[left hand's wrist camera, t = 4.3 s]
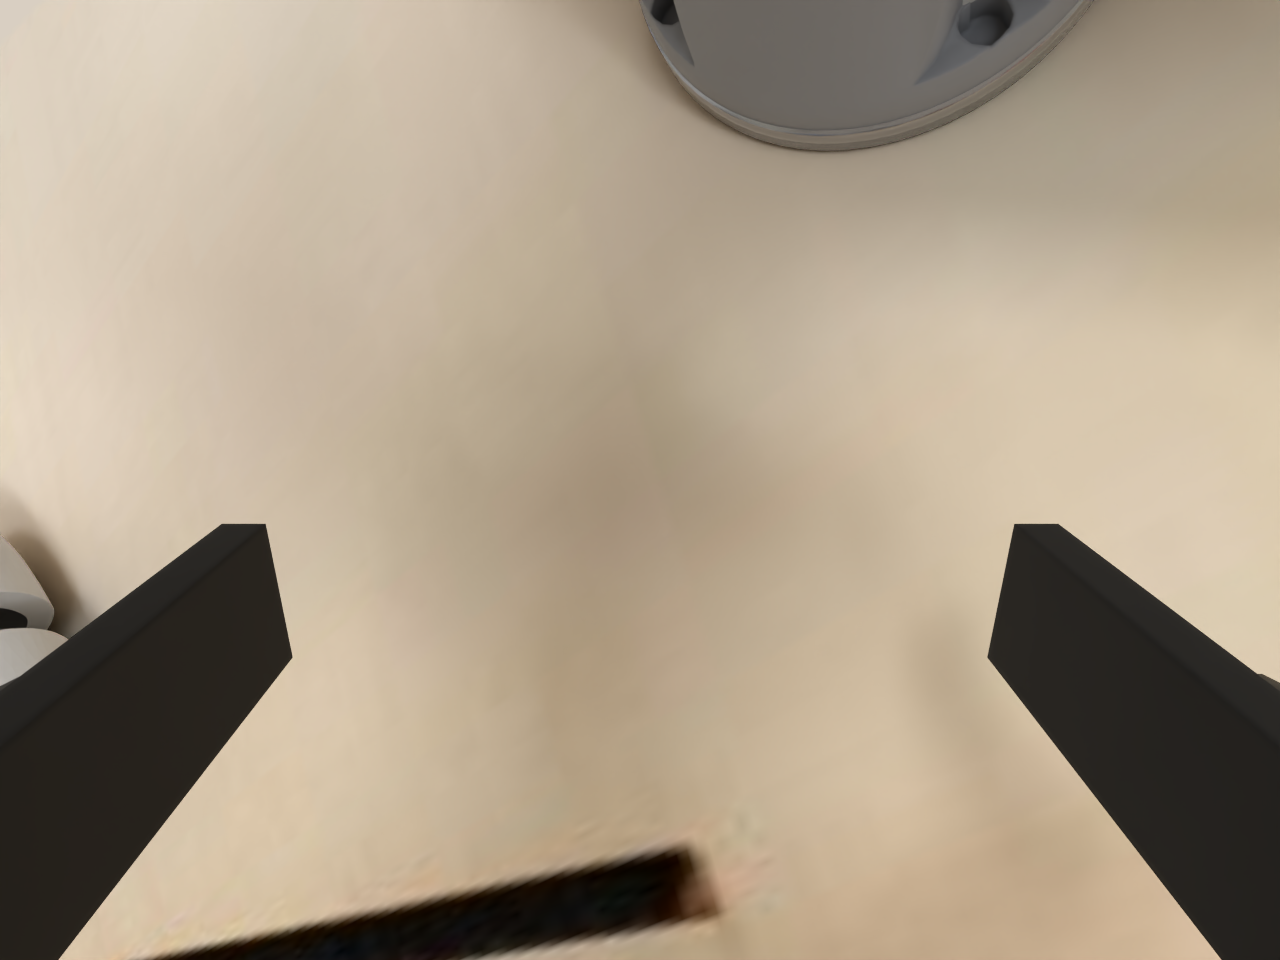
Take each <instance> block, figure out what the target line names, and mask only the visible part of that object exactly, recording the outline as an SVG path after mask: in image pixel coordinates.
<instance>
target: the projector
mask: <svg viewBox="0 0 1280 960" xmlns="http://www.w3.org/2000/svg"><path fill="white" fill-rule="evenodd" d="M53 617H54V608H53V606H52V604H51V602H50V601H49V599H48V597H47V595H46V594H45V592H44V590H43V588H42V587H41V585H40V583H39V582H38V580H37V579H36V577H35V576H34V574H33V573H32V571H31V570H30V568H29V566H28V565H27V564H26V562H25V561H24V560H23V558H22V557H21V556H20V554H19V553H18V552H17V551H16V550H15V548H14V547H13V546H12V545H11V544H10V543H9V542H8V541H7V540H6V539H5V538H4V537H2V536H1V535H0V686H1V685H3V684H5V683H7V682H9V681H11V680H13V679H15V678H17V677H20V676H21V675H22V674H23V673H25V672H26V671H27V670H29V669H30V668H31V667H33V666H34V665H35V664H37V663H38V662H39V661H41V660H42V659H43V658H45V657H46V656H47V655H49V654H50V653H51V652H53V651H54V650H55V649H57V648H58V647H59V646H61V645H62V644H63V643H65V642H66V641H67V640H69V639H67V638H65V637H64V636H62V635H60V634H58V633H55V632H52V631H48V630H47V629H48V628H49V626H50V624H51V622H52V620H53Z"/></svg>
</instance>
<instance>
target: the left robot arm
mask: <svg viewBox="0 0 1280 960" xmlns="http://www.w3.org/2000/svg"><path fill="white" fill-rule="evenodd" d="M1093 1H1094V0H639V2H640V5H641V8H642V12H643V14H644V17H645V20H646V22H647V25H648V28H649V30H650V32H651V34H652V36H653V38H654V40H655V42H656V44H657V46H658V48H659V50H660V52H661V53H662V55H663V57H664V59H665V61H666V62H667V64H668V66H669V68H670V69H671V71H672V72H673V74H674V75H675V77H676V78H677V80H678V81H679V83H680V84H681V85H682V87H683V88H684V89H685V90H686V91H687V92H688V93H689V95H690V96H691V97H692V98H693V99H694V100H695V101H696V102H697V103H698V104H699V105H701V106H702V107H703V108H704V109H705V110H706V111H707V112H709V113H710V114H711V115H713V116H714V117H716V118H717V119H718V120H720V121H721V122H723V123H725V124H726V125H728V126H730V127H732V128H734V129H735V130H737V131H739V132H741V133H744V134H746V135H749V136H751V137H754V138H756V139H758V140H762V141H765V142H769V143H772V144H776V145H780V146H785V147H791V148H797V149H806V150H820V151H829V150H851V149H859V148H867V147H873V146H878V145H883V144H887V143H892V142H896V141H900V140H903V139H906V138H909V137H913V136H916V135H919V134H922V133H924V132H927V131H929V130H932V129H934V128H937V127H939V126H942V125H944V124H947V123H949V122H951V121H953V120H955V119H957V118H959V117H961V116H963V115H965V114H967V113H969V112H971V111H972V110H974V109H976V108H977V107H979V106H981V105H982V104H984V103H986V102H987V101H989V100H991V99H992V98H994V97H996V96H997V95H998V94H1000V93H1001V92H1002V91H1004V90H1005V89H1007V88H1008V87H1009V86H1011V85H1012V84H1014V83H1015V82H1016V81H1018V80H1019V79H1020V78H1021V77H1023V76H1024V75H1025V74H1026V73H1027V72H1029V71H1030V70H1031V69H1032V68H1033V67H1034V66H1036V65H1037V64H1038V63H1039V62H1040V61H1041V60H1042V59H1044V58H1045V57H1046V56H1047V55H1048V54H1049V53H1050V52H1051V51H1052V50H1053V49H1054V48H1055V47H1056V46H1057V45H1058V44H1059V43H1060V42H1061V41H1062V40H1063V38H1064V37H1065V36H1066V35H1067V34H1068V33H1069V31H1070V30H1071V29H1072V28H1073V27H1074V26H1075V24H1076V23H1077V22H1078V21H1079V20H1080V18H1081V17H1082V16H1083V15H1084V13H1085V12H1086V10H1087V9H1088V8H1089V6H1090V5H1091V3H1092V2H1093ZM291 659H292V652H291V647H290V642H289V637H288V633H287V628H286V623H285V618H284V613H283V608H282V603H281V598H280V593H279V588H278V583H277V578H276V573H275V568H274V563H273V558H272V553H271V548H270V543H269V539H268V534H267V529H266V524H221V525H220V526H219V527H217V528H216V529H215V530H213V531H212V532H211V533H209V534H208V535H207V536H205V537H204V538H203V539H201V540H200V541H199V542H197V543H196V544H195V545H193V546H192V547H191V548H189V549H188V550H187V551H185V552H184V553H183V554H181V555H180V556H179V557H177V558H176V559H175V560H173V561H172V562H171V563H169V564H168V565H167V566H165V567H164V568H163V569H161V570H160V571H159V572H157V573H156V574H155V575H154V576H152V577H151V578H150V579H148V580H147V581H146V582H144V583H143V584H142V585H140V586H139V587H138V588H136V589H135V590H134V591H132V592H131V593H130V594H128V595H127V596H126V597H124V598H123V599H122V600H120V601H119V602H118V603H116V604H115V605H114V606H112V607H111V608H110V609H108V610H107V611H106V612H104V613H103V614H102V615H100V616H99V617H98V618H96V619H95V620H94V621H92V622H91V623H90V624H89V625H87V626H86V627H85V628H83V629H82V630H81V631H79V632H78V633H77V634H75V635H74V636H73V637H71V638H70V639H69V640H67V641H66V642H65V643H63V644H62V645H61V646H59V647H58V648H57V649H55V650H54V651H53V652H51V653H50V654H49V655H47V656H46V657H45V658H43V659H42V660H41V661H39V662H38V663H37V664H35V665H34V666H33V667H31V668H30V669H29V670H27V671H26V672H25V673H23V674H22V675H21V676H20V677H17V678H15V679H13V680H11V681H9V682H7V683H5V684H3V685H1V686H0V960H58V959H59V958H60V957H61V956H62V954H63V953H64V952H65V950H66V949H67V948H68V947H69V945H70V944H71V943H72V941H73V940H74V939H75V938H76V936H77V935H78V934H79V932H80V931H81V930H82V928H83V927H84V926H85V925H86V923H87V922H88V921H89V919H90V918H91V917H92V916H93V914H94V913H95V912H96V910H97V909H98V908H99V907H100V905H101V904H102V903H103V901H104V900H105V899H106V897H107V896H108V895H109V894H110V892H111V891H112V890H113V888H114V887H115V886H116V885H117V883H118V882H119V881H120V879H121V878H122V877H123V876H124V874H125V873H126V872H127V870H128V869H129V868H130V867H131V865H132V864H133V863H134V861H135V860H136V859H137V857H138V856H139V855H140V854H141V852H142V851H143V850H144V848H145V847H146V846H147V845H148V843H149V842H150V841H151V839H152V838H153V837H154V836H155V834H156V833H157V832H158V830H159V829H160V828H161V826H162V825H163V824H164V823H165V821H166V820H167V819H168V817H169V816H170V815H171V814H172V812H173V811H174V810H175V808H176V807H177V806H178V805H179V803H180V802H181V801H182V799H183V798H184V797H185V796H186V794H187V793H188V792H189V790H190V789H191V788H192V786H193V785H194V784H195V783H196V781H197V780H198V779H199V777H200V776H201V775H202V774H203V772H204V771H205V770H206V768H207V767H208V766H209V765H210V763H211V762H212V761H213V759H214V758H215V757H216V755H217V754H218V753H219V752H220V750H221V749H222V748H223V746H224V745H225V744H226V743H227V741H228V740H229V739H230V737H231V736H232V735H233V734H234V732H235V731H236V730H237V728H238V727H239V726H240V725H241V723H242V722H243V721H244V719H245V718H246V717H247V715H248V714H249V713H250V712H251V710H252V709H253V708H254V706H255V705H256V704H257V703H258V701H259V700H260V699H261V697H262V696H263V695H264V694H265V692H266V691H267V690H268V688H269V687H270V686H271V684H272V683H273V682H274V681H275V679H276V678H277V677H278V675H279V674H280V673H281V672H282V670H283V669H284V668H285V666H286V665H287V664H288V663H289V661H290V660H291ZM988 659H989V660H990V661H991V663H992V664H993V665H994V666H995V668H996V669H997V670H998V672H999V673H1000V674H1001V675H1002V677H1003V678H1004V679H1005V681H1006V682H1007V683H1008V684H1009V686H1010V687H1011V688H1012V690H1013V691H1014V692H1015V694H1016V695H1017V696H1018V697H1019V699H1020V700H1021V701H1022V703H1023V704H1024V705H1025V706H1026V708H1027V709H1028V710H1029V712H1030V713H1031V714H1032V715H1033V717H1034V718H1035V719H1036V721H1037V722H1038V723H1039V725H1040V726H1041V727H1042V728H1043V730H1044V731H1045V732H1046V734H1047V735H1048V736H1049V737H1050V739H1051V740H1052V741H1053V743H1054V744H1055V745H1056V746H1057V748H1058V749H1059V750H1060V752H1061V753H1062V754H1063V755H1064V757H1065V758H1066V759H1067V761H1068V762H1069V763H1070V765H1071V766H1072V767H1073V768H1074V770H1075V771H1076V772H1077V774H1078V775H1079V776H1080V777H1081V779H1082V780H1083V781H1084V783H1085V784H1086V785H1087V786H1088V788H1089V789H1090V790H1091V792H1092V793H1093V794H1094V796H1095V797H1096V798H1097V799H1098V801H1099V802H1100V803H1101V805H1102V806H1103V807H1104V808H1105V810H1106V811H1107V812H1108V814H1109V815H1110V816H1111V817H1112V819H1113V820H1114V821H1115V823H1116V824H1117V825H1118V826H1119V828H1120V829H1121V830H1122V832H1123V833H1124V834H1125V836H1126V837H1127V838H1128V839H1129V841H1130V842H1131V843H1132V845H1133V846H1134V847H1135V848H1136V850H1137V851H1138V852H1139V854H1140V855H1141V856H1142V857H1143V859H1144V860H1145V861H1146V863H1147V864H1148V865H1149V867H1150V868H1151V869H1152V870H1153V872H1154V873H1155V874H1156V876H1157V877H1158V878H1159V879H1160V881H1161V882H1162V883H1163V885H1164V886H1165V887H1166V888H1167V890H1168V891H1169V892H1170V894H1171V895H1172V896H1173V897H1174V899H1175V900H1176V901H1177V903H1178V904H1179V905H1180V907H1181V908H1182V909H1183V910H1184V912H1185V913H1186V914H1187V916H1188V917H1189V918H1190V919H1191V921H1192V922H1193V923H1194V925H1195V926H1196V927H1197V928H1198V930H1199V931H1200V932H1201V934H1202V935H1203V936H1204V938H1205V939H1206V940H1207V941H1208V943H1209V944H1210V945H1211V947H1212V948H1213V949H1214V950H1215V952H1216V953H1217V954H1218V956H1219V957H1220V958H1221V959H1222V960H1280V683H1279V682H1277V681H1275V680H1273V679H1271V678H1269V677H1267V676H1265V675H1263V674H1256V673H1255V672H1254V671H1253V670H1251V669H1250V668H1249V667H1247V666H1246V665H1245V664H1243V663H1242V662H1241V661H1239V660H1238V659H1237V658H1235V657H1234V656H1233V655H1231V654H1230V653H1229V652H1227V651H1226V650H1225V649H1223V648H1222V647H1221V646H1219V645H1218V644H1217V643H1215V642H1214V641H1213V640H1211V639H1210V638H1209V637H1207V636H1206V635H1205V634H1203V633H1202V632H1201V631H1199V630H1198V629H1197V628H1195V627H1194V626H1193V625H1191V624H1190V623H1189V622H1188V621H1186V620H1185V619H1184V618H1182V617H1181V616H1180V615H1178V614H1177V613H1176V612H1174V611H1173V610H1172V609H1170V608H1169V607H1168V606H1166V605H1165V604H1164V603H1162V602H1161V601H1160V600H1158V599H1157V598H1156V597H1154V596H1153V595H1152V594H1150V593H1149V592H1148V591H1146V590H1145V589H1144V588H1142V587H1141V586H1140V585H1138V584H1137V583H1136V582H1134V581H1133V580H1132V579H1130V578H1129V577H1128V576H1126V575H1125V574H1124V573H1123V572H1121V571H1120V570H1119V569H1117V568H1116V567H1115V566H1113V565H1112V564H1111V563H1109V562H1108V561H1107V560H1105V559H1104V558H1103V557H1101V556H1100V555H1099V554H1097V553H1096V552H1095V551H1093V550H1092V549H1091V548H1089V547H1088V546H1087V545H1085V544H1084V543H1083V542H1081V541H1080V540H1079V539H1077V538H1076V537H1075V536H1073V535H1072V534H1071V533H1069V532H1068V531H1067V530H1065V529H1064V528H1063V527H1061V526H1060V525H1059V524H1014V529H1013V534H1012V539H1011V543H1010V548H1009V553H1008V558H1007V563H1006V568H1005V573H1004V578H1003V583H1002V588H1001V593H1000V598H999V603H998V608H997V613H996V618H995V623H994V628H993V633H992V637H991V642H990V647H989V652H988Z"/></svg>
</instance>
